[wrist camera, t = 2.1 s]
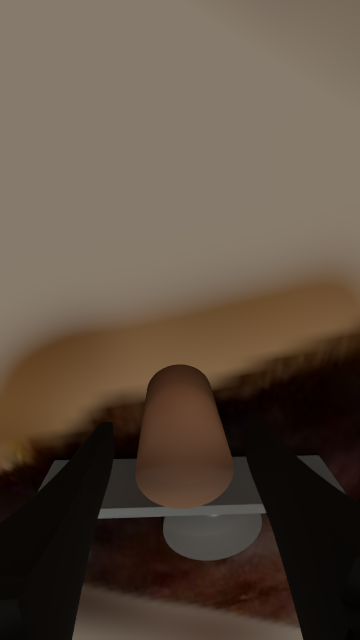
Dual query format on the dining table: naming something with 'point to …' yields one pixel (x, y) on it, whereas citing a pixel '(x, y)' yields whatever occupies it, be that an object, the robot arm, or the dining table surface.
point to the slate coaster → (211, 534)
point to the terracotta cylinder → (182, 441)
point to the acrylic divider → (236, 499)
